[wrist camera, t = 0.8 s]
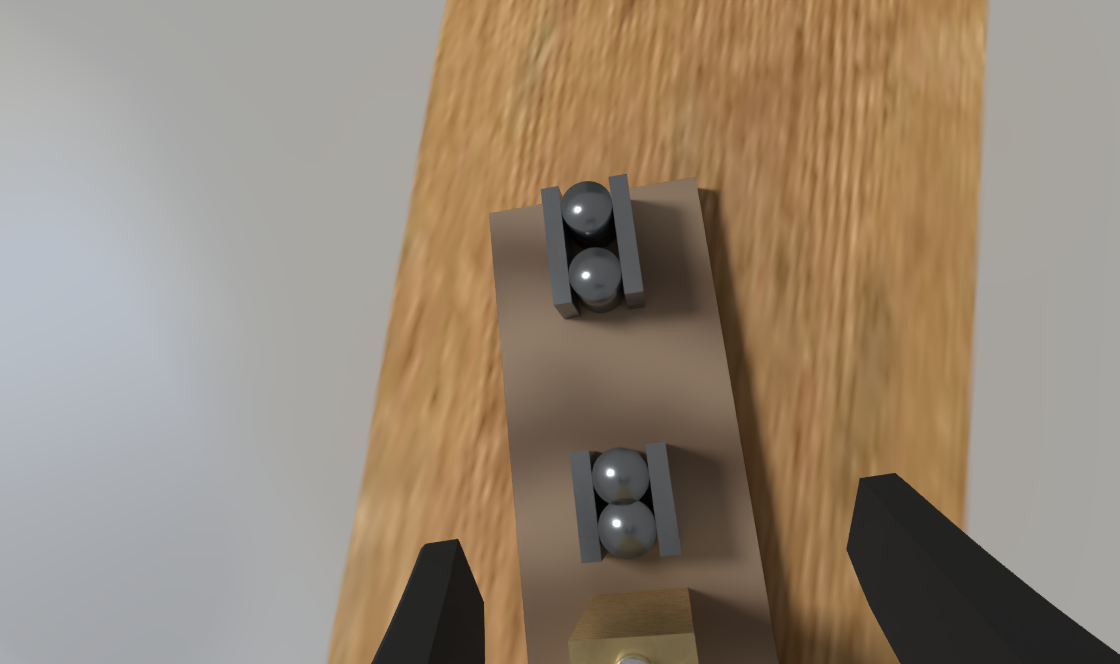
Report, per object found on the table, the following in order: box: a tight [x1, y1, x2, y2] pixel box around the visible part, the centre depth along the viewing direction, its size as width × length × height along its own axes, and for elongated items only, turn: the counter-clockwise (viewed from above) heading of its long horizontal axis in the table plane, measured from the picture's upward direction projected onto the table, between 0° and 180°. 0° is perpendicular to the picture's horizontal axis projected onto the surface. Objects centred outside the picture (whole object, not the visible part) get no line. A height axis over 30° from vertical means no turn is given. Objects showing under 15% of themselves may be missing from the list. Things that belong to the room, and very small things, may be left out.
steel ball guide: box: [541, 174, 681, 563], centre depth 23 cm, size 14×3×2 cm, turn 6°
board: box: [489, 177, 779, 664], centre depth 24 cm, size 22×9×1 cm, turn 6°
